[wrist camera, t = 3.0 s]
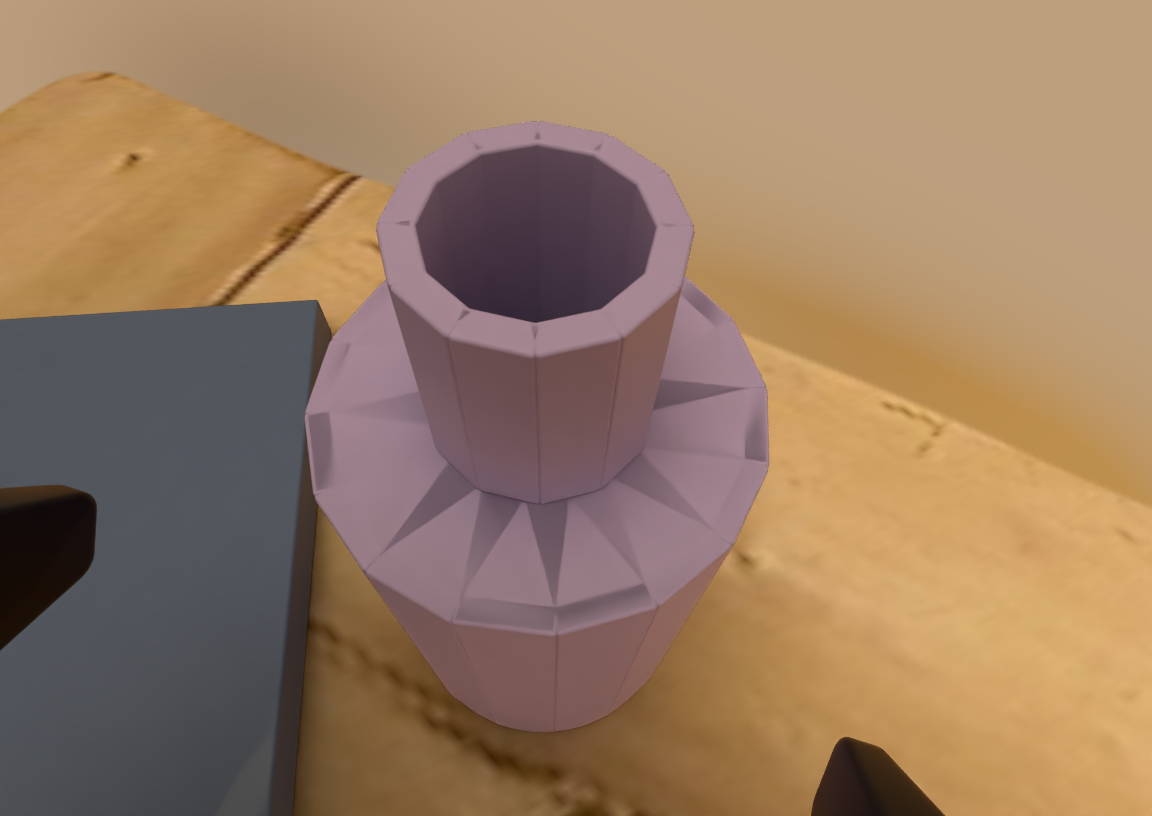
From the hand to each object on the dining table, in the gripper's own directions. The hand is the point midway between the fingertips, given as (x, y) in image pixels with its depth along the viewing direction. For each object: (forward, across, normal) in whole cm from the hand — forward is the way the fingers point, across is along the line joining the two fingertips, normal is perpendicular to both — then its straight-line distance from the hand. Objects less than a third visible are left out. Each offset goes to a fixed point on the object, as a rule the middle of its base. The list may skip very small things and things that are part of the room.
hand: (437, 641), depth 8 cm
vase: (+10, 0, +5) cm, 11 cm away
